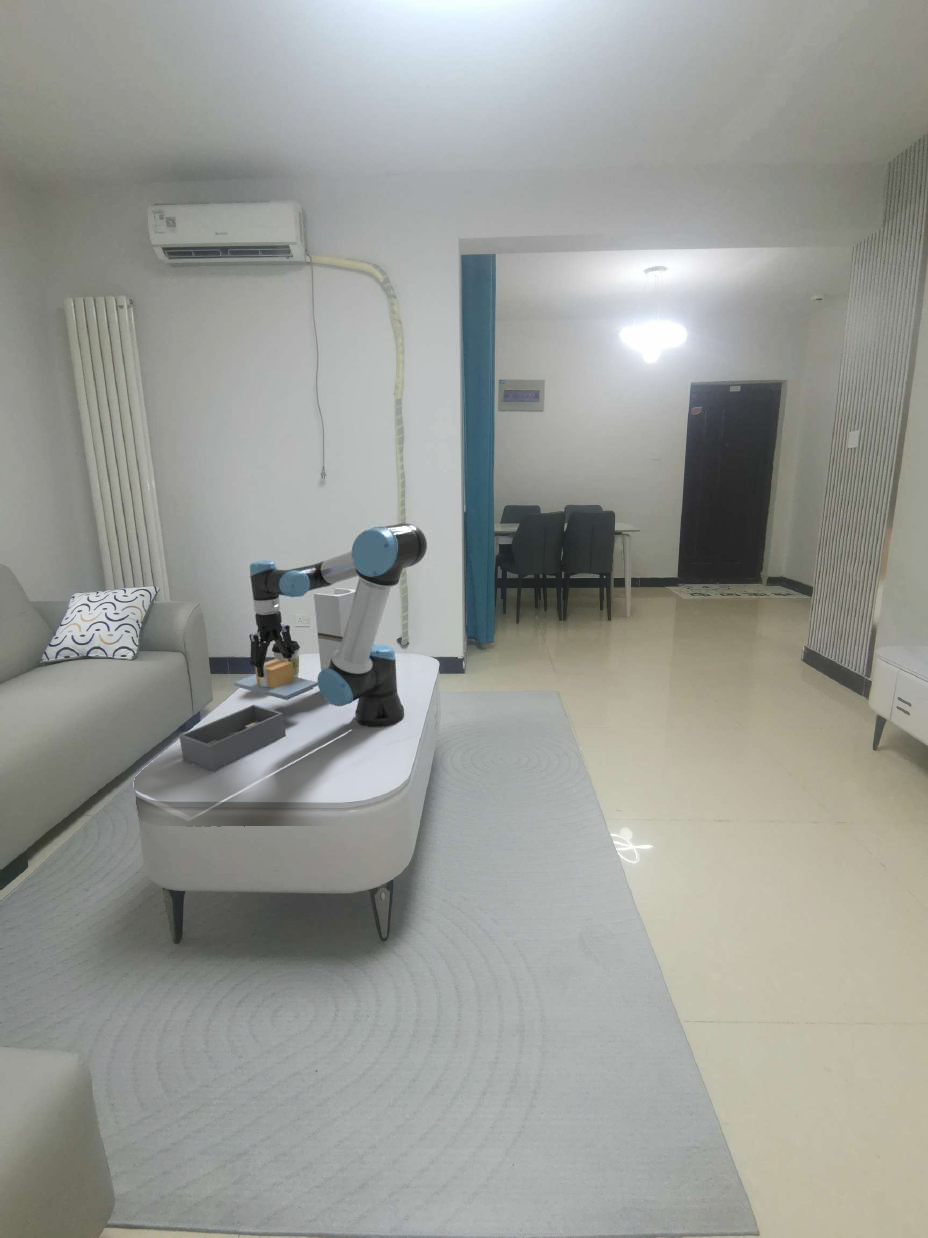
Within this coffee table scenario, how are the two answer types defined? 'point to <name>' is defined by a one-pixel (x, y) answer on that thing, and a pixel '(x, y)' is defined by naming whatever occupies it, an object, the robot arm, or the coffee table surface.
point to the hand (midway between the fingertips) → (275, 681)
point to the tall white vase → (332, 621)
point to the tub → (232, 737)
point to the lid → (278, 681)
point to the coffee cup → (294, 658)
